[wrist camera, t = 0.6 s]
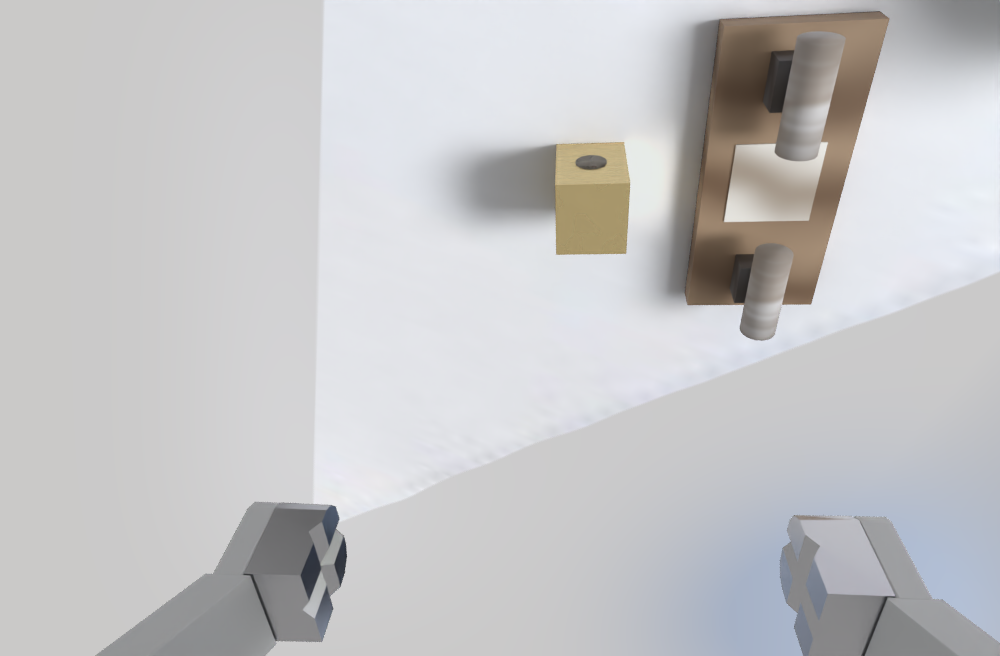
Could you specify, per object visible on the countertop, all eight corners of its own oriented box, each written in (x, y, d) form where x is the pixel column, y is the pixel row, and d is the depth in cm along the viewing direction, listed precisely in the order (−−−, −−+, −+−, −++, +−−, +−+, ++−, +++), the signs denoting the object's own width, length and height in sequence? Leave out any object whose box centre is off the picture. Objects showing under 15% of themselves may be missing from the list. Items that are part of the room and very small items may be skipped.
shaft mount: (719, 19, 40) (738, 48, 35) (879, 11, 39) (919, 40, 35) (684, 293, 52) (695, 340, 48) (805, 292, 51) (827, 340, 47)
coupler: (556, 143, 46) (555, 184, 41) (623, 141, 45) (630, 182, 40) (557, 210, 49) (556, 255, 44) (620, 208, 48) (626, 254, 44)
